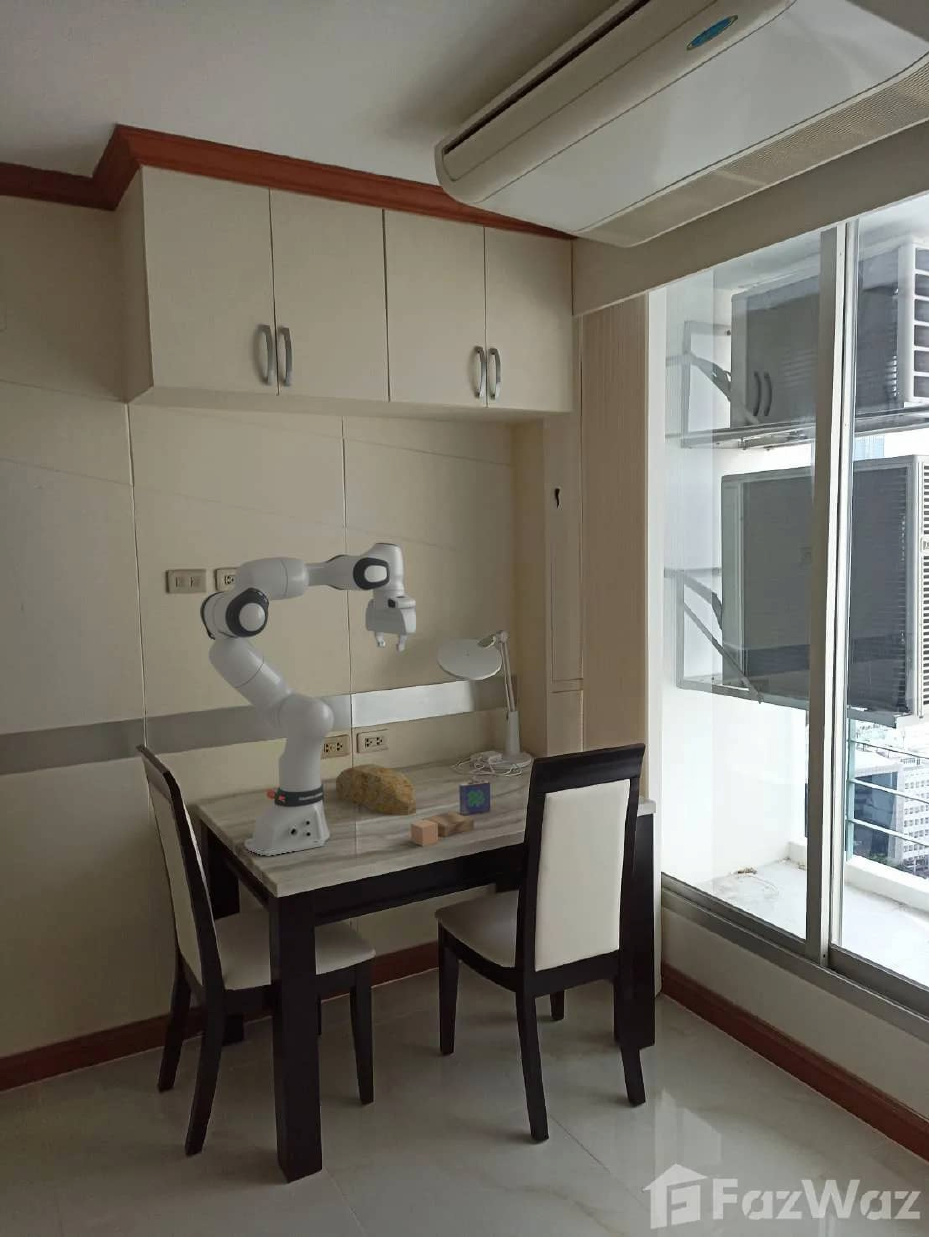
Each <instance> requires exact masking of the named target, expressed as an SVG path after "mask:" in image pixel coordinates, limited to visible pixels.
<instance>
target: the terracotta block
mask: <svg viewBox="0 0 929 1237" xmlns="http://www.w3.org/2000/svg"><path fill="white" fill-rule="evenodd" d="M423 819H424V820H422V819H421V820H418V821H415V822H410V839H411V840H410V841H411V842H412V843H414V844H417V845H419V846H421V847H425V846H428V845H432V844H434V843H438V842H439V834H438V823H435V822H432V821H430V820H427V819H425V818H423Z"/></svg>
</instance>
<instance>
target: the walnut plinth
mask: <svg viewBox="0 0 929 1237" xmlns="http://www.w3.org/2000/svg"><path fill="white" fill-rule="evenodd" d="M424 819H427V820H430V821H432V822H435V823H438V836H441V837H444V838H445V837H450V836H453V835H456V834H459V833H462V832H466V831H469V830H472V829H474V827H475V826H474V820H475V819H473V818H471V817H468V816H465V815H460V813H457V812H454V811H452V810H451V811H450V810H449V811H447V812H443V813H440V814H436V815H432V816H429V817H425V818H422V819H421V820H424Z"/></svg>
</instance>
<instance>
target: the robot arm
mask: <svg viewBox="0 0 929 1237" xmlns="http://www.w3.org/2000/svg"><path fill="white" fill-rule="evenodd" d="M403 559H404V558H403V553H402V550H401V548H400V547H399V546H398V545H397V544H394V543H390V542H389V543H388V542H387V543H386V542H376V543H374V544H373V545H372V546H371V548H370V549H368V550H367V551H365V552H364V553H362V554H359V555H348V554H337V555H335V556H333V557H331V558H330V559H329V560H326V561H323V562H312V563H305V562H304V561H303V560H302V559H300V558H294V557H287V556H286V557H284V556H283V557H282V556H281V557H280V556H278V557H276V556H275V557H266V558H265V557H264V558H258V559H254V560H249V561H247V562H245V561H244V562H243V563H241V564H240V565H239V566H238V567H237V568H236V571H235V572H234V579H233V580H234V586H233V588H232V590H231V591H218V592H214V593H212V594H210V595H209V596H206V598H205V599H204V600H203V602H202V603H201V605H200V610H199V613H200V614H199V616H200V619H201V621H202V624H203V626H204V628H205V631H206V634H207V635H208V637H209V639H211V640H213V641H214V642H213V643H212V644H211V647H210V649H209V651H208V659H209V660H208V661H209V663H210V664H211V665H212V667H213V668H214V669H215V671H216V672H217V673H218V674H219V675H220V676H221V678H222V679H223V680H225V682H226V683H227V684H228V685H230V686H231V687H232V688H233V689H234V690H235V691H236V692H237V693H239V695H241V696H243V698H244V699H245V700H246V701H248V702H249V703H250V704H251V705H252V706H253V707H254V708H255V709H256V710H257V711H258V713H259V715H261V717H262V718H263V720H264V721H265V722H266V723H267V725H268V726H270V727H271V728H272V729H274V730H275V731H277V732H279V733H284V734H285V737H286V740H285V744H284V750H283V752H282V754H281V755H280V756H279V758H278V781H279V782H278V783H279V786H278V788H277V790H276V791H273V790H271V789H269V790H267V792H266V794H265V795H266V797H267V798H268V799H271V800H273V799H274V800H273V804H271V805H270V806H269V807H268V808H267V809H266V811H264V812H263V813H262V814H261V816H260V817H258V818H257V819H256V820H255V822H254V824H253V831H252V837H250V838H247V839H245V841H244V848H245V847H246V848H245V849H246V850H247V849H248V850H247V851H249V852H251V851H252V852H251V853H253V852H255V853H257V854H256V855H258V854H260V855H259V856H262V855H266V856H265V857H272V856H271V855H274V856H277V855H276V854H280V855H282V854H281V853H285V854H287V853H286V852H290V853H293V852H292V851H295V852H298V851H299V852H300V851H303V850H309V849H314V848H319V847H323V846H325V842H326V841H327V840H328V839H329V838H330V836H331V834H330V831H329V827H328V825H327V821H326V816H325V809H324V802H325V800H324V799H325V792H324V784H323V783H322V752H323V751H322V750H323V747H324V742H325V740H326V736H328V735H329V733H331V730H332V729H333V727H334V721H335V716H334V712H333V711H332V708H331V707H330V706H329V705H327V704H326V702H323V701H322V700H321V699H319V698H316V697H313V696H308V695H304V694H302V693H300V692H298V691H297V690H294V689H293V688H292V687H291V686H290V684H289V683H288V682H287V681H286V679H285V675H284V673H283V672H282V670H280V669H279V668H278V667H276V666H275V664H273V663H272V662H271V661H270V660H269V659H268V658H267V657H266V656H265V655H264V654H262V652H260V651H259V650H258V649H257V648H255V646H254V645H253V644H252V642H251V640H250V638H251V637H254V636H257V635H259V634H260V633H262V631H264V630H265V628H266V626H267V623H268V619H269V605H270V601H283V600H290V599H293V598H297V597H301V596H303V595H304V594H305V592H306V591H307V589H308V587H316V586H329V587H331V588H333V589H335V590H339V591H361V592H367V591H372V598H371V599H370V600H369V601H368V602H367V607H366V609H365V617H364V618H365V620H364V621H365V625H364V626H365V629H366V630H367V631H368V632H373V636H374V639H375V641H376V647H377V648H379V649H380V648H381V649H382V648H385V647H386V645H385V644H386V641H385V640H384V639H383V635H384V634H390V635H397V639H398V642H397V643H396V644H395V649H396V651H399V652H400V651H402V652H403V651H404V650H405V643H406V641H407V638H408V637H407V636H412V635H414V634H415V633H416V631H417V630H416V629H417V616H416V610H415V609H414V608H415V607H416V600H415V598H413V597H412V596H411V597H410V596H409V595H408V594H407V593H405V587H404V583H403V578H404V561H403ZM255 853H254V854H255Z"/></svg>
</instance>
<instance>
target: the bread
mask: <svg viewBox="0 0 929 1237" xmlns="http://www.w3.org/2000/svg"><path fill="white" fill-rule="evenodd" d="M335 785H336V786H335V787H336V788H335V789H336V793H337V794H339V795H340V796H339V795H338V796H339V797H341V799H343V800H345V799H346V801H348V802H351V803H354V804H357V805H359V806H363V807H364V808H368V809H370V810H373V811H376V812H379V813H383V814H387V815H392V816H393V815H394V816H409V815H415V814H416V813H417V809H418V808H417V792H416V791H415V788H414V786H413V784H412V782H411V781H410V779H409V778H408V777H407V776H406V775H404V774H403V773H402V772H400V771H397V770H394V769H391V768H387V767H385V766H382V765H381V766H380V765H377V764H374V763H367V764H360V765H357V766H353V767H348V768H346V769H344V770H342V771H341V772H340V774H338V775H337V777H336V780H335Z"/></svg>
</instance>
